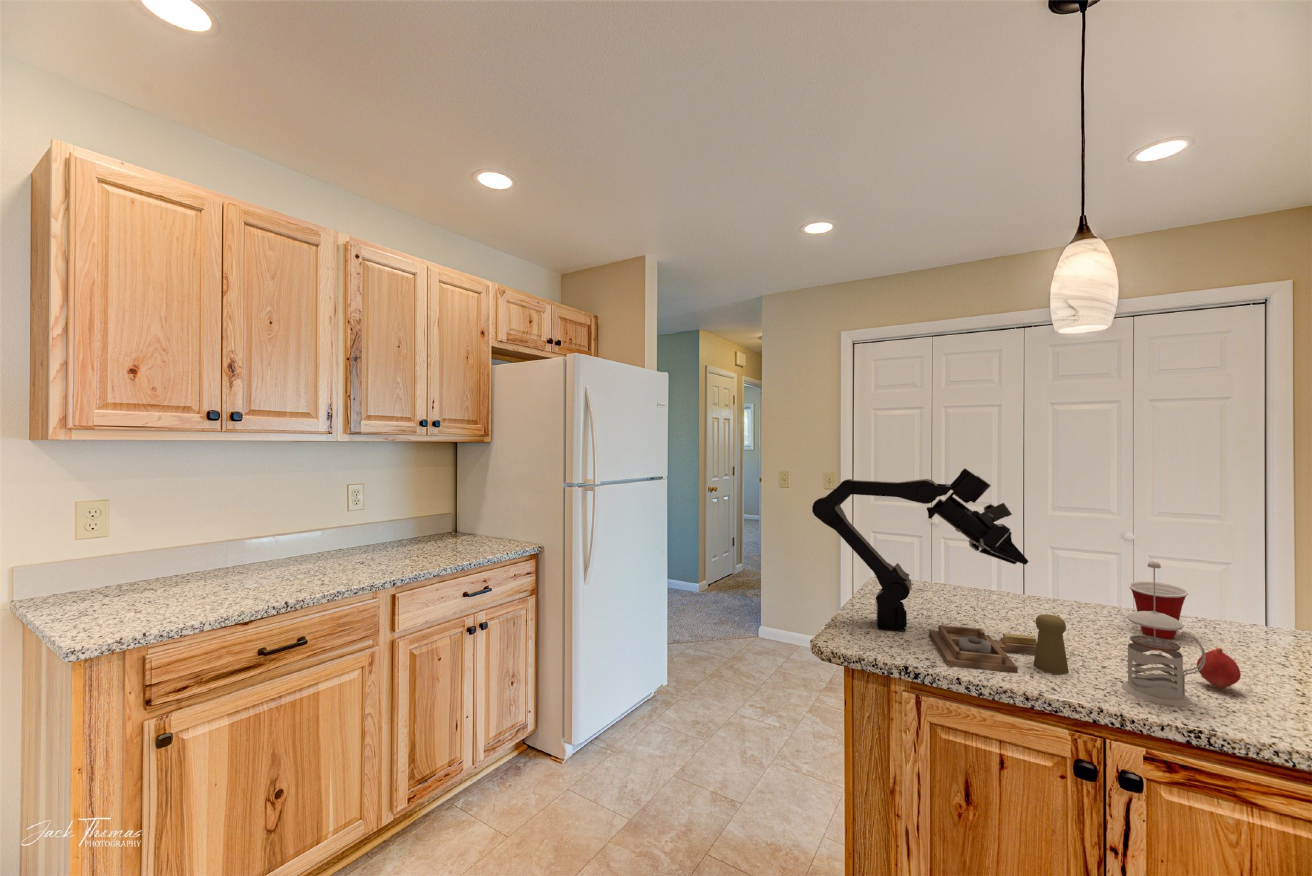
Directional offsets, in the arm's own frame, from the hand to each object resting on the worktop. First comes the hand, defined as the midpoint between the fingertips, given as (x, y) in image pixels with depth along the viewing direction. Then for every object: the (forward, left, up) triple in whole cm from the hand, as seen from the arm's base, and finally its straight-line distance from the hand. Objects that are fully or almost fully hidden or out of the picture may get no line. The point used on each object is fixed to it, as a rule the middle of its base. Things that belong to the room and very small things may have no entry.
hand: (1021, 562), depth 125 cm
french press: (+17, -19, -20) cm, 32 cm away
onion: (+29, -13, -20) cm, 37 cm away
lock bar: (-1, -2, -18) cm, 18 cm away
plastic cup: (+35, +18, -20) cm, 44 cm away
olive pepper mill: (+2, -11, -20) cm, 23 cm away
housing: (-8, -6, -20) cm, 22 cm away
